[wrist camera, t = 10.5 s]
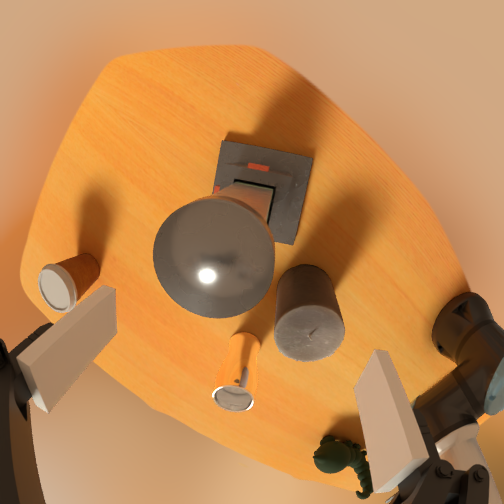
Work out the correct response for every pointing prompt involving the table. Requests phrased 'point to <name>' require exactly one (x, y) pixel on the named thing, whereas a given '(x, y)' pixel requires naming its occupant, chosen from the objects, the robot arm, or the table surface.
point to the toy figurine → (344, 461)
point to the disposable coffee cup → (67, 281)
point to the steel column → (218, 251)
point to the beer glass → (238, 374)
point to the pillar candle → (307, 315)
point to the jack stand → (268, 181)
